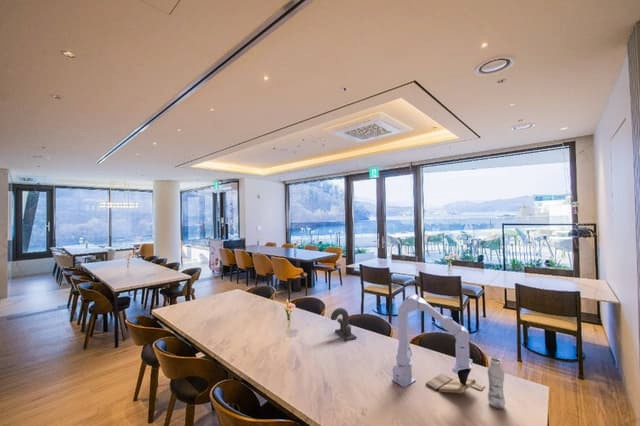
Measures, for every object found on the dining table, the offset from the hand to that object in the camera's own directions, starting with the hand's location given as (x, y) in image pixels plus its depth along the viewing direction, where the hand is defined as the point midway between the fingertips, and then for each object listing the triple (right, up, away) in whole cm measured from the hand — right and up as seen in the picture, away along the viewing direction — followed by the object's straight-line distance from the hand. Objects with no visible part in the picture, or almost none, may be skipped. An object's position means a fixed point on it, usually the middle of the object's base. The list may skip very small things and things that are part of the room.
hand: (463, 383), depth 127 cm
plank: (+8, -6, +9) cm, 14 cm away
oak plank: (-1, -3, +2) cm, 4 cm away
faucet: (-52, -8, +66) cm, 84 cm away
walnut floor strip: (-7, -6, +10) cm, 13 cm away
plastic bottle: (+11, -6, -7) cm, 14 cm away
